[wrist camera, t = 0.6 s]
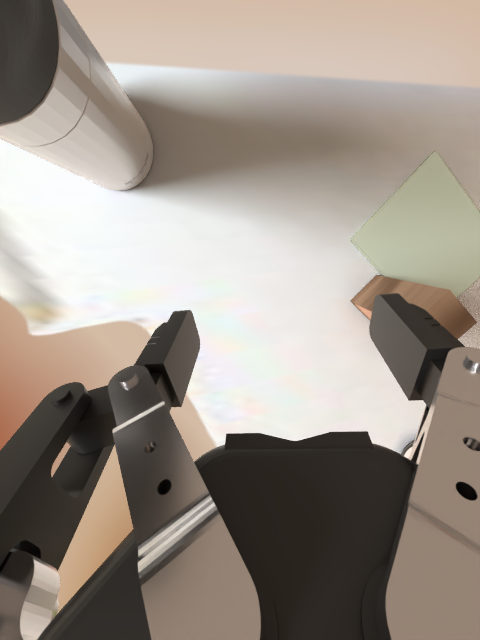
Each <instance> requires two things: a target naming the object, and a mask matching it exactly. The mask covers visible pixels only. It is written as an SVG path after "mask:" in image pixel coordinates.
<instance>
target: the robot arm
mask: <svg viewBox="0 0 480 640" xmlns="http://www.w3.org/2000/svg"><path fill="white" fill-rule="evenodd" d="M0 139H2V140H4V141H6V142H9V143H11V144H13V145H15V146H17V147H19V148H21V149H23V150H26V151H28V152H30V153H32V154H34V155H36V156H38V157H40V158H42V159H45V160H47V161H49V162H51V163H53V164H55V165H57V166H59V167H62V168H64V169H66V170H68V171H70V172H72V173H74V174H76V175H78V176H81V177H83V178H84V179H87V180H89V181H91V182H93V183H95V184H97V185H99V186H102V187H104V188H107V189H110V190H117V191H120V190H128V189H130V188H133V187H135V186H137V185H138V184H139V183H141V182H142V181H143V180H144V178H145V177H146V176H147V174H148V172H149V170H150V168H151V165H152V161H153V142H152V139H151V135H150V132H149V130H148V128H147V126H146V124H145V122H144V121H143V119H142V118H141V116H140V115H139V113H138V112H137V110H136V109H135V107H134V106H133V104H132V102H131V101H130V99H129V98H128V96H127V95H126V93H125V92H124V90H123V89H122V87H121V86H120V84H119V83H118V81H117V80H116V78H115V77H114V75H113V74H112V72H111V71H110V69H109V68H108V66H107V65H106V63H105V62H104V60H103V59H102V57H101V56H100V54H99V53H98V51H97V50H96V48H95V47H94V45H93V44H92V42H91V41H90V39H89V38H88V36H87V35H86V33H85V32H84V30H83V29H82V27H81V26H80V24H79V23H78V21H77V20H76V18H75V17H74V15H73V14H72V12H71V11H70V9H69V8H68V6H67V5H66V4H65V2H64V1H63V0H0ZM369 329H370V336H371V339H372V341H373V342H374V344H375V346H376V347H377V349H378V351H379V352H380V354H381V355H382V357H383V359H384V360H385V362H386V364H387V365H388V367H389V369H390V370H391V372H392V373H393V375H394V377H395V378H396V380H397V382H398V383H399V385H400V387H401V388H402V390H403V392H404V393H405V395H406V396H407V398H408V400H424V402H425V403H426V407H425V409H424V412H423V415H422V418H421V421H420V425H419V428H418V431H417V434H416V437H415V441H414V444H413V447H412V450H411V453H410V456H409V459H408V458H406V457H405V456H403V455H401V454H399V453H397V452H395V451H393V450H390V449H388V448H386V447H383V446H380V445H376V444H372V442H371V440H370V437H369V435H368V432H329V433H326V434H322V435H318V436H315V437H311V438H307V439H304V440H300V441H290V440H286V439H282V438H277V437H273V436H269V435H265V434H260V433H243V434H226V442H225V445H222V446H219V447H217V448H215V449H212V450H211V451H209V452H207V453H205V454H204V455H202V456H201V457H200V458H198V459H197V460H196V461H195V462H194V461H193V459H192V457H191V455H190V453H189V451H188V449H187V447H186V445H185V443H184V441H183V439H182V437H181V435H180V433H179V431H178V429H177V427H176V425H175V423H174V421H173V419H172V417H171V415H170V413H169V412H170V409H171V407H181V406H182V403H183V400H184V397H185V394H186V391H187V387H188V384H189V381H190V378H191V375H192V372H193V368H194V365H195V362H196V359H197V356H198V353H199V349H200V339H199V335H198V331H197V328H196V324H195V321H194V317H193V314H192V312H191V311H190V310H185V311H174V312H173V313H172V315H171V317H170V319H169V320H168V322H167V323H163V324H162V325H161V326H159V327H158V328H157V329H156V330H155V331H154V333H153V335H152V336H151V339H150V340H149V341H148V343H147V345H146V346H145V348H144V350H143V351H142V353H141V355H140V356H139V358H138V360H137V361H136V363H135V364H134V366H130V367H127V368H125V369H123V370H121V371H120V372H118V373H117V374H116V375H114V376H113V377H112V379H111V380H110V382H109V384H108V385H107V386H104V387H100V388H97V389H94V390H90V391H87V390H86V388H85V387H84V386H83V385H82V384H81V383H78V382H73V383H69V384H65V385H63V386H60V387H59V388H57V389H55V390H53V391H52V392H51V393H49V394H48V395H47V396H46V397H45V398H44V399H43V400H42V402H41V403H40V404H39V405H38V406H37V407H36V409H35V410H34V411H33V412H32V413H31V415H30V416H29V417H28V418H27V420H26V421H25V422H24V423H23V424H22V425H21V427H20V428H19V429H18V430H17V432H16V433H15V434H14V435H13V436H12V437H11V439H10V440H9V441H8V442H7V444H6V445H5V446H4V447H3V448H2V449H1V451H0V640H480V349H476V348H470V347H465V346H464V345H463V344H462V343H461V342H460V341H458V340H457V339H456V338H455V337H454V336H453V335H452V334H451V333H450V332H449V331H448V330H447V329H445V328H444V327H443V326H441V324H440V323H439V322H438V321H437V320H436V319H434V317H433V316H431V315H430V314H429V313H428V312H427V311H426V310H425V309H423V308H421V307H419V306H417V305H415V304H409V303H408V302H407V301H406V300H405V299H404V298H403V297H402V296H401V295H400V294H399V293H390V294H378V295H376V297H375V299H374V304H373V309H372V315H371V321H370V328H369ZM66 442H68V444H69V445H70V446H71V447H70V448H69V450H68V452H67V453H66V455H65V457H64V458H63V460H62V462H61V464H60V465H59V467H58V469H57V470H56V472H55V474H54V475H53V477H51V468H52V465H53V463H54V461H55V459H56V458H57V456H58V454H59V453H60V451H61V449H62V448H63V446H64V445H65V443H66ZM114 445H115V446H116V451H117V455H118V460H119V464H120V469H121V474H122V478H123V483H124V487H125V492H126V496H127V501H128V505H129V510H130V515H131V519H132V524H133V528H134V529H133V530H132V532H130V533H129V535H128V536H127V537H126V538H125V539H124V540H123V541H122V542H121V544H120V545H119V546H118V547H117V548H116V549H115V550H114V552H112V554H111V555H110V556H109V557H108V558H107V559H106V560H105V561H104V562H103V564H102V565H101V566H100V567H99V568H98V569H97V570H96V571H95V572H94V574H93V575H92V576H91V577H90V578H89V579H88V580H87V581H86V583H85V584H84V585H83V586H82V587H81V588H80V589H79V590H78V591H77V593H76V594H75V595H74V596H73V597H72V598H71V599H70V600H69V601H68V603H67V604H66V605H65V606H64V607H63V608H62V609H61V610H60V612H59V613H58V614H57V611H58V608H59V600H58V598H57V597H58V593H59V588H60V577H59V573H58V569H59V567H60V565H61V563H62V561H63V558H64V556H65V554H66V552H67V549H68V547H69V545H70V543H71V540H72V538H73V536H74V534H75V532H76V529H77V527H78V525H79V522H80V520H81V518H82V516H83V514H84V511H85V509H86V507H87V504H88V503H89V500H90V498H91V496H92V494H93V491H94V489H95V487H96V485H97V482H98V480H99V478H100V476H101V474H102V471H103V469H104V467H105V465H106V462H107V460H108V458H109V456H110V454H111V451H112V449H113V447H114ZM56 614H57V615H56Z"/></svg>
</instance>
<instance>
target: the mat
mask: <svg viewBox="0 0 480 640" xmlns="http://www.w3.org/2000/svg"><path fill="white" fill-rule="evenodd" d="M350 241H351V242H352V243H353V244H354V245H355V246H356V247H357V249H358V250H359V251H360V252H361V253H362V254H363V255H364V256H365V257H366V258H367V259H368V260H369V262H370V263H371V264H372V265H373V266H374V267H375V268H376V269H377V270H378V271H379V272H380V274H381V275H382V276H384V277H389V278H394V279H399V280H404V281H409V282H414V283H419V284H424V285H429V286H434V287H439V288H444V289H448V290H450V291H451V292H452V293H453V294H454V296H455V297H456V298H457V297H458V296H459V295H460V294H462V293H463V292H464V291H465V290H466V289H467V288H468V287H469V286H470V285H472V284H473V283H474V282H475V281H476V280H477V279H478V278H479V277H480V211H479V210H478V209H477V207H476V206H475V204H474V203H473V202H472V200H471V199H470V197H469V196H468V195H467V193H466V192H465V190H464V189H463V188H462V186H461V185H460V184H459V182H458V181H457V179H456V178H455V177H454V175H453V174H452V172H451V171H450V170H449V168H448V167H447V165H446V164H445V163H444V161H443V160H442V159H441V157H440V156H439V154H438V153H437V152H436V151H435V152H433V153H432V154H431V155H430V156H429V157H428V158H427V159H426V160H425V161H424V162H423V164H422V165H421V166H420V167H419V168H418V169H417V170H416V171H415V172H414V173H413V174H412V175H411V176H410V177H409V178H408V179H407V180H406V181H405V182H404V184H403V185H402V186H401V187H400V188H399V189H398V190H397V191H396V192H395V193H394V194H393V195H392V196H391V197H390V198H389V199H388V200H387V201H386V202H385V204H384V205H383V206H382V207H381V208H380V209H379V210H378V211H377V212H376V213H375V214H374V215H373V216H372V217H371V218H370V219H369V220H368V221H367V223H366V224H365V225H364V226H363V227H362V228H361V229H360V230H359V231H358V232H357V233H356V234H355V235H354V236H353V237H352V238H351V239H350Z"/></svg>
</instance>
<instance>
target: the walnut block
mask: <svg viewBox="0 0 480 640" xmlns="http://www.w3.org/2000/svg"><path fill="white" fill-rule="evenodd" d="M390 293H399V294H400V295H401V296H402V297H403V298H404V299H405V300H406V301H407V302H408V303H409V304H415V305H417V306H419V307H421V308H423V309H425V310H426V311H427V312H428V313H429V314H430V315H431V316H433V317H434V319H436V320H437V321H438V322H439V323H440V324H441V326H443V327H444V328H445V329H447V330H448V331H449V332H450V333H451V334H452V335H453V336H454V337H455V338H456V339H458V338H459V337H461V336H462V335H463V334H464V333H465V332H466V331H468V330H469V329H470V328H471V327H472V326H473V325H475V324H476V323H477V322H476V321H475V319H474V318H473V317H472V316H471V315H470V313H469V312H468V311H467V310H466V309H465V307H464V306H463V305H462V304H461V303H460V302H459V300H458V299H457V298H456V297H455V296H454V294H453V293H452V292H451V291H450V290H448V289H444V288H439V287H434V286H429V285H424V284H419V283H414V282H409V281H404V280H399V279H394V278H389V277H384V276H379V275H376V276H375V277H374V278H373V279H372V280H371V281H370V282H369V283H368V284H367V285H366V286H365V287H364V288H363V289H362V290H361V291H360V292H359V293H358V294H357V295H356V296H355V297H354V298H353V299H352V300H351V302H352V303H353V304H354V305H355V306H356V307H357V308H358V309H359V310H360V311H361V312H362V313H363V314H364V315H365V316H366V317H367V318H368V319H369V320H370V321H371V315H372V309H373V304H374V299H375V297H376V295H378V294H390Z"/></svg>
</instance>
